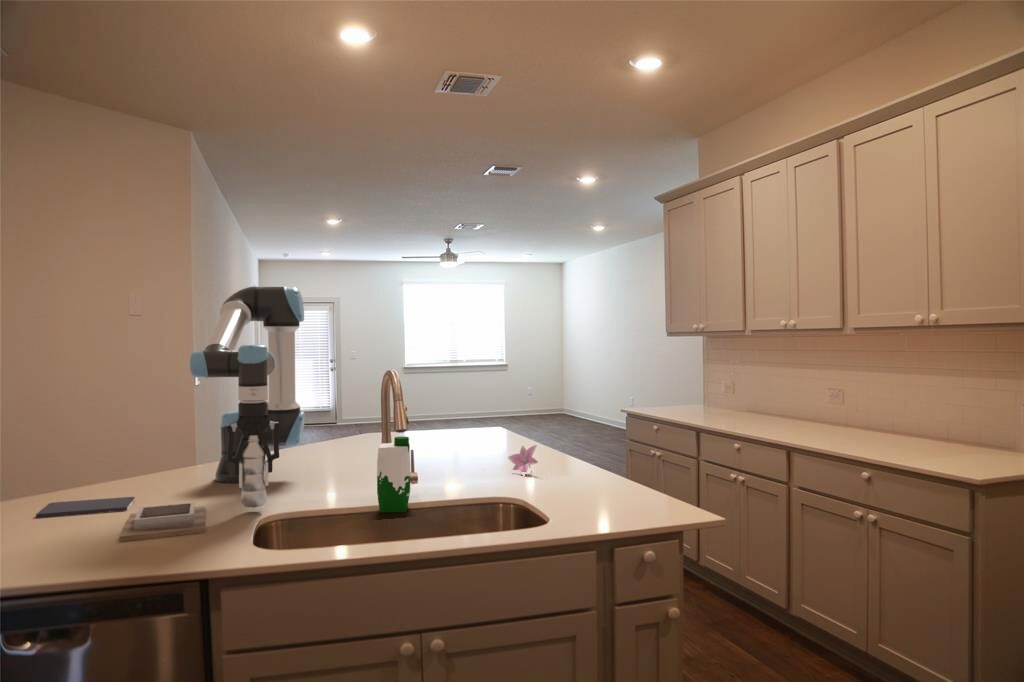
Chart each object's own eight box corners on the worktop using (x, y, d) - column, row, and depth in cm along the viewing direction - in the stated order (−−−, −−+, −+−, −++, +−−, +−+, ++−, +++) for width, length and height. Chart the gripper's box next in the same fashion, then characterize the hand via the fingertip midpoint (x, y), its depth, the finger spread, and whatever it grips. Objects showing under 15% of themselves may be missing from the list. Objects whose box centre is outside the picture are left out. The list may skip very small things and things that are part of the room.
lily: (507, 472, 241) (500, 451, 237) (535, 458, 244) (529, 437, 240) (520, 489, 230) (513, 467, 226) (550, 474, 233) (544, 452, 229)
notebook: (35, 519, 177) (127, 512, 184) (35, 514, 177) (127, 506, 184) (50, 508, 189) (135, 501, 196) (50, 502, 189) (135, 496, 196)
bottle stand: (130, 518, 177) (130, 504, 177) (205, 510, 184) (205, 497, 184) (119, 541, 157) (119, 526, 157) (204, 532, 164) (204, 517, 164)
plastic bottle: (258, 510, 179) (257, 436, 179) (235, 509, 180) (235, 435, 180) (271, 504, 185) (271, 432, 185) (249, 503, 187) (249, 431, 186)
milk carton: (409, 513, 182) (409, 439, 182) (375, 513, 181) (375, 440, 181) (411, 504, 191) (411, 435, 191) (379, 505, 190) (379, 435, 190)
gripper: (215, 404, 175) (215, 492, 175) (290, 401, 183) (291, 485, 183) (215, 401, 182) (215, 485, 182) (288, 398, 189) (288, 479, 190)
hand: (253, 485), depth 183 cm, fingers closed on plastic bottle, 6 cm apart
